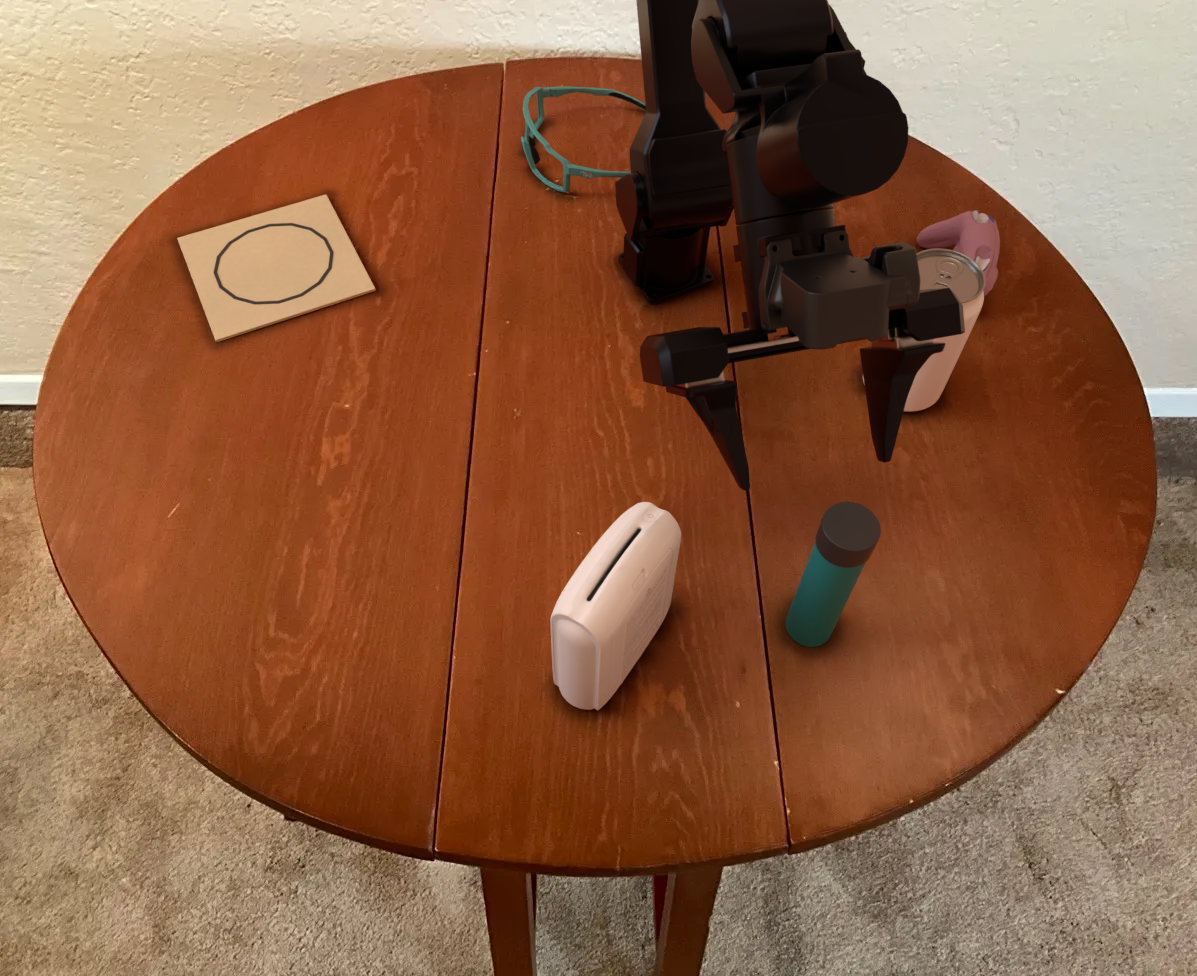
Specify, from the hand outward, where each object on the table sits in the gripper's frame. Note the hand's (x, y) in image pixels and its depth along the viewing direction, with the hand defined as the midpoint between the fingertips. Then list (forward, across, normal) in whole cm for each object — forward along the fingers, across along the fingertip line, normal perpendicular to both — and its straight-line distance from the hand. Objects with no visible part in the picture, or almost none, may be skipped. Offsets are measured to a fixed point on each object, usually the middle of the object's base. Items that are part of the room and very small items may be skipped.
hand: (815, 475), depth 60 cm
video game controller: (-9, +24, +25) cm, 36 cm away
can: (-2, +15, +18) cm, 24 cm away
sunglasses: (-27, -2, +43) cm, 50 cm away
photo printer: (+10, -14, +6) cm, 18 cm away
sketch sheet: (-20, -34, +36) cm, 53 cm away
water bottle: (+12, 0, +5) cm, 12 cm away
